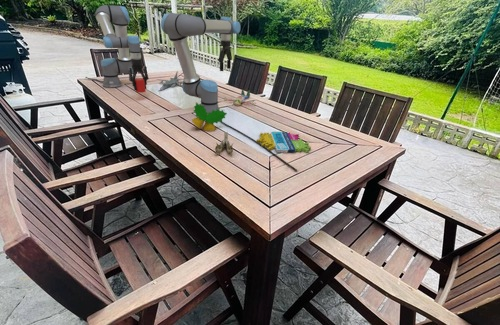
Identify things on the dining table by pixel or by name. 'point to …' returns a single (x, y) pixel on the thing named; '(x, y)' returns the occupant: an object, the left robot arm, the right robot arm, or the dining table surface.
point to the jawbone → (224, 145)
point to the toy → (241, 99)
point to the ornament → (207, 117)
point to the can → (140, 85)
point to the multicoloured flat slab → (283, 142)
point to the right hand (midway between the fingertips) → (225, 69)
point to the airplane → (170, 82)
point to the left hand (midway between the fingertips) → (140, 89)
